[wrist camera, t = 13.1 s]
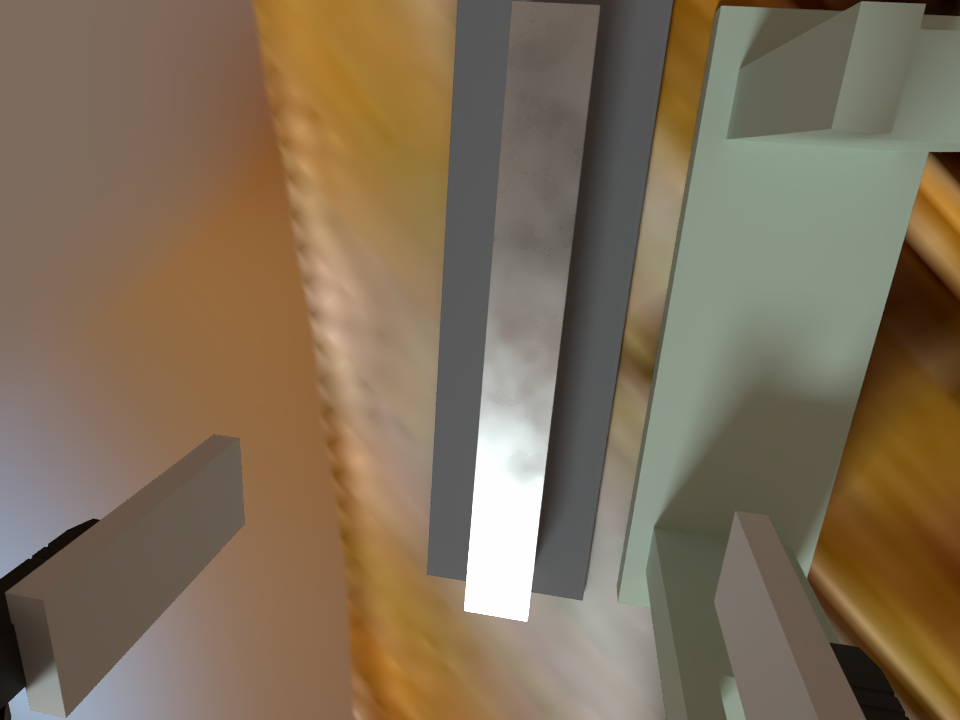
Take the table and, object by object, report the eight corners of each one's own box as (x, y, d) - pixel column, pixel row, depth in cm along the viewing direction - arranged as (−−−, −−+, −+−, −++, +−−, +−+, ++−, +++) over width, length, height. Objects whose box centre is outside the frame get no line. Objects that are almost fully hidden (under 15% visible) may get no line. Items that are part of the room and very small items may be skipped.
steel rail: (523, 24, 30) (512, 0, 25) (598, 28, 30) (600, 4, 25) (479, 556, 40) (464, 610, 35) (534, 565, 39) (527, 621, 35)
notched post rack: (714, 12, 29) (834, -120, 15) (948, 23, 28) (1317, -111, 14) (616, 586, 39) (633, 826, 25) (784, 613, 38) (899, 882, 24)
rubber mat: (461, -23, 30) (459, -26, 30) (674, -14, 29) (675, -17, 29) (429, 568, 41) (426, 574, 41) (582, 594, 40) (582, 600, 39)
